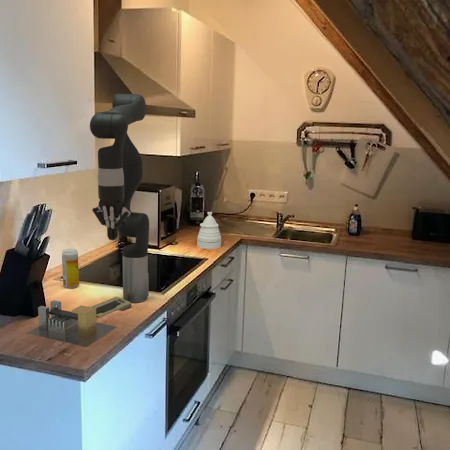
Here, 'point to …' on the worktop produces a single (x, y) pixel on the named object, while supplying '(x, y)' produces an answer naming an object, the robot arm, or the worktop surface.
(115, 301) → the computer
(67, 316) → the strap
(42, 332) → the heatsink base
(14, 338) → the worktop surface
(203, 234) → the honey pot
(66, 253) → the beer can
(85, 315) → the gold block
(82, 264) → the worktop surface
